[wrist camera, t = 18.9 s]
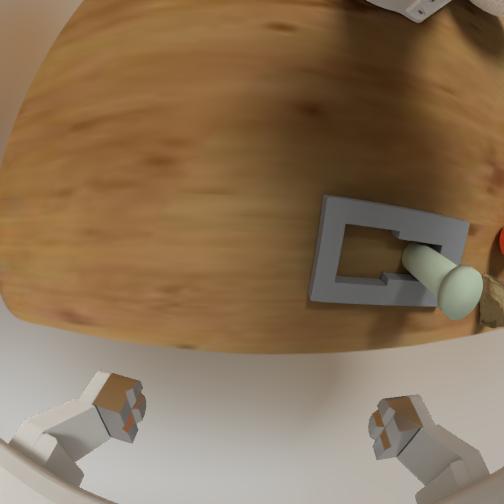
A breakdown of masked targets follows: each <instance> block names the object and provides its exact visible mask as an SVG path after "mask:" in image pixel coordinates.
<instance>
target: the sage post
mask: <svg viewBox="0 0 504 504" xmlns="http://www.w3.org/2000/svg"><path fill="white" fill-rule="evenodd" d="M402 264H403V266H404V268H405V269H407V270H408V271H409V272H410V273H411V274H412V275H413V276H414V277H415V278H417V279H418V280H419V281H420V282H421V283H422V284H423V285H424V286H425V287H426V288H427V289H429V290H430V291H431V292H432V293H433V294H434V295H435V296H436V297H437V302H438V306H439V308H440V310H441V311H442V312H443V313H444V314H445V315H446V316H447V317H448V318H449V319H451V320H459V319H462V318H464V317H465V316H467V315H468V314H469V313H470V312H471V311H472V310H473V309H474V308H475V306H476V305H477V303H478V301H479V299H480V297H481V294H482V290H483V280H482V277H481V275H480V273H479V272H477V271H476V270H474V269H473V268H471V267H470V266H468V265H459V266H457V265H456V264H454V263H453V262H451V261H450V260H448V259H447V258H445V257H444V256H442V255H441V254H439V253H438V252H436V251H435V250H433V249H431V248H430V247H428V246H427V245H425V244H424V243H422V242H416V241H414V242H411V243H410V244H408V245H407V246H406V248H405V249H404V251H403V253H402Z"/></svg>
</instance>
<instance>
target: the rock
mask: <svg viewBox="0 0 504 504" xmlns="http://www.w3.org/2000/svg"><path fill="white" fill-rule="evenodd" d="M480 313H481V315H480V320H479V324H481V325H483V326H487V327H490V328H496V327H502V326H504V284H503V283H502V282H501V281H499V280H498V279H497V278H495V277H494V276H493V275H491V274H488V273H487V274H485V273H484V274H483V290H482V294H481V297H480Z"/></svg>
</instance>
